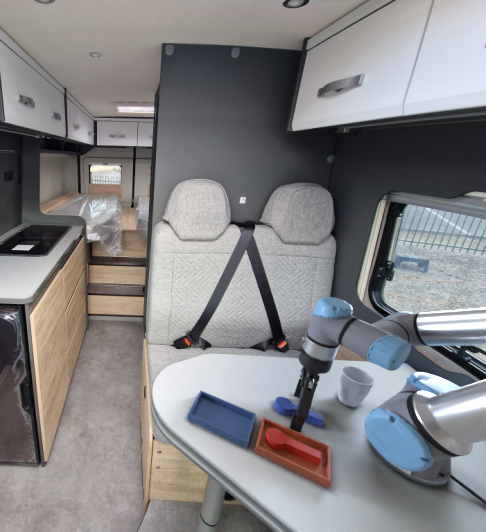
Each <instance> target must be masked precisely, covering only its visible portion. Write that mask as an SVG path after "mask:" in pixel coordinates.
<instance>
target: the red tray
mask: <svg viewBox="0 0 486 532" xmlns="http://www.w3.org/2000/svg"><path fill="white" fill-rule="evenodd" d="M269 428H277V429H279V430H281V431H282V432H283V433H284V434H285V435H286V437H288V438H291V439H293V440H295V441H297V442H300V443H302V444H304V445H306V446H309V447H311V448H313V449H316V450H318V451H320V452H321V461H320V464H319V466H317V465H315V464H313V463H311V462H309V461H307V460H305V459H302V458H300V457H298V456H296V455H294V454H292V453H289V452H287V451H285V450H281V451H277V450H274V449H272V448H270V447H269V446H268V445H267V443H266V441H265V436H266V432H267V430H268V429H269ZM257 435H258V436H257V439H256V444H255V447H254V453H256V454H257V455H259V456H261V457H263V458H266V459H268V460H269V461H272V462H274V463H276V464H277V465H280V466H282V467H284V468H286V469H288V470H291V471H292V472H294V473H296V474H298V475H301V476H303V477H305V478H307V479H308V480H311V481H313V482H315V483H317V484H320V485H321V486H323V487H326V488H328V489H329V488H330V485H331V483H332V462H331V461H332V458H331V456H332V454H331V451H332V450H331V445H330V444H327V443H326V442H324V441H320V440H318V439H316V438H313V437H311V436H309V435H307V434H304V433H302V432H301V433H299V432H297V431H295V430H292V429H290V427H288V426H285V425H284V424H281V423H278V422H276V421H274V420H271V419H270V418H266V417H264V416H263V417H262V418H261V423H260V427H259V432H258V434H257Z"/></svg>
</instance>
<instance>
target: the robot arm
mask: <svg viewBox="0 0 486 532" xmlns="http://www.w3.org/2000/svg"><path fill="white" fill-rule="evenodd" d="M353 310H354V309H353V306H352V305H351V304H350V303H348V301H345V300H343V299H341V298H338V297H333V296H324V297H321V298H319V299H318V300H317V302H316V305H315V307H314V309H313V311H312V315H311V318H310V322H309V326H308V329H307V331H306V335H305V336H303V337H302V338H301V340H302V341H303V344H302V348H301V350H300V353H299V356H298V361H299V363H300V365H301V366H302V368H301V370H300V374H299V379H298V381H297V385H296V387H295V390H294V393H293V397H294V398H297V399H298V403H297V405H298V406H297V409H293V412H294V415H293V416H292V419H291V421H290V423H289V428H290V429H292V430H295V431H297V432H299V433H302V430H303V427H304V425H305V422H306V421H305V419H306V420H307V419H308V415H309V411H310V410H311V407H312V403H313V401H314V400H313V399H314V395H315V392H316V390H317V387H318V382H319V381H320V377H321V375H320V374H324V375H325V374H327V373H329V372H330V371H331V369H332V366H333V363H334V360H335V358H336V356H337V353H338V351H339V348H340V346H341V347H344V348H346V349H347V350H349V351H351V352H353V353H355V354H356V355H358V356H359V357H361V358H363V359H365V360H366V361H369V362H370V363H371V364H374V365H376V366H379V367H381V368H383V369H385V370H387V371H390V372H393V371H397V370H398V369H399V368H401V366H402V365H403V364H404V363H405V362H406V360H407V359H408V357H409V355H410V354H411V350H412V347H438V346H439V347H442V346H443V347H447V346H448V347H453V346H454V347H455V346H456V347H457V346H459V347H461V346H462V347H463V346H465V347H466V346H468V347H469V346H472V347H473V346H474V347H475V346H476V347H478V346H479V347H480V346H481V347H482V346H486V307H477V308H467V309H466V308H465V309H464V308H463V309H454V310H453V309H452V310H438V311H426V312H416V313H415V312H412V311H398V312H393V313H391V314H388V315H387V316H385V317H384V318H381V319H379V320H377V321H375V322H373V323H368V322H366V321H364V320H362V319H360V318H357V317H356V316H354V315H353ZM364 431H365V434H366V436H367V438H368V440H369V442H370V444H371V447H372V448H373V450H374V452H375V453H376V455H377V456H378V457H379V458H380V459H381V461H383V463H385V464H386V465H387V466H388V467H389V468H391V470H394V472H396V473H398V474H400V475H401V476H402V477H404V478H406V479H408V480H411V481H412V482H415V483H416V484H417V483H418V484H420V485H423V486H427V487H435V488H437V487H442V486H445V485H446V484H447V482H448V481H449V480H450V479H451V480H452V481H454V482H455V483H456V484H457V485H459V486H460V487H462V489H464V490H466V491H467V493H470V494H471V495H472V496H473V497H475V498H476V499H478V500H479V501H480V502H481V503H483V505H485V506H486V500H485V499H484V498H483V497H482V496H480V495H479V494H478V493H476V492H475V491H474V490H473V489H471V488H470V487H469V486H467V485H466V484H465V483H464V482H462V481H461V480H459V479H458V478H456V477H455V476H454V475H453V474H452V458H457V457H463V456H468V455H470V454H471V453H472V451H473V448H474V444H477V443H481V442H486V379H485V378H484V379H482V380H479V381H476V382H473V383H469V384H466V385H463V386H459V385H458V384H456V383H454V382H452V381H450V380H447V379H445V378H443V377H441V376H438V375H435V374H432V373H428V372H424V371H414V372H412V373H410V374H409V377H407V378H406V382H405V385H404V387H402V389H401V390H400V391H398V392H397V393H396V394H395V395H393V396H391V397H390V398H389V399H387V400H386V401H384V402H383V403H381V404H380V405H379V406H377V407H375V408H373V409H371V411H369V414H368V415H367V416H366V417H365V419H364Z"/></svg>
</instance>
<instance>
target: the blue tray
mask: <svg viewBox="0 0 486 532" xmlns="http://www.w3.org/2000/svg"><path fill="white" fill-rule="evenodd" d="M256 416H257V413H255V412H252V411H250V410H247V409H245V408H243V407H241V406H239V405H236V404H234V403H232V402H229V401H227V400H225V399H222V398H219V397H217V396H215V395H213V394H210V393H209V392H206V391H203V390H199V393H198V394H197V397H196V399H195V400H194V401H193V404H192V406H191V407H190V410H189V412H188V413H187V419H186V420H187V421H189V422H191V423H193V424H195V425H197V426H198V427H202V428H204V429H206V430H207V431H209V432H212V433H214V434H215V435H218V436H220V437H221V438H224V439H226V440H228V441H230V442H233V444H236V445H239V446H241V447H243V448H245V449H248V446H249V443H250V440H251V439H250V438H251V435H252V431H253V428H254V425H255V420H256Z"/></svg>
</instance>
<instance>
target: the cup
mask: <svg viewBox="0 0 486 532" xmlns="http://www.w3.org/2000/svg"><path fill="white" fill-rule="evenodd" d="M375 381H376V380H375V378H374V376H373V375H372V374H370V373H369V372H368V371H366V370H364V369H362V368H360V367H357V366H353V365H344V366H343V367H342V368H341V370H340V375H339V378H338V384H337V396H338V399H339V400H338V401H340V402H341V403H342V404H343V405H345V406H347V407H349V408H356V407H358V406H359V405H361V403H362V402H363V401H364V400H365V399H366V398H367V397H368V395H369V393H370V392H371V389H372V388H373V386H374V384H375V383H376V382H375Z"/></svg>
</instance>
